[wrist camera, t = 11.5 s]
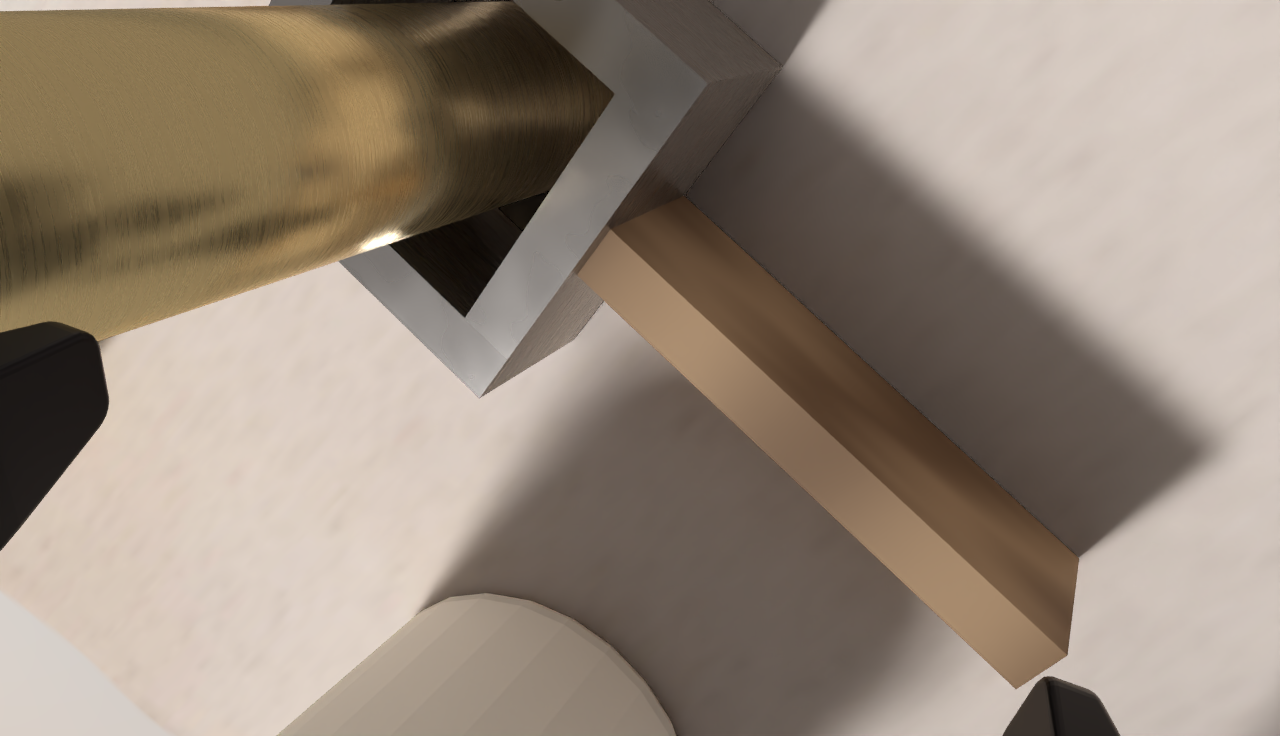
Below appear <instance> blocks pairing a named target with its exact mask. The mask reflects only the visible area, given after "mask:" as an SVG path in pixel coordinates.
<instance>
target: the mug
mask: <svg viewBox="0 0 1280 736" xmlns="http://www.w3.org/2000/svg"><path fill="white" fill-rule="evenodd" d="M277 736H676V733H675V731H674V728H673V725H672V722H671V720H670V719H669V717H668V715H667V714H666V712H665V711H664V709H663V708H662V706H661V705H660V703H659V701H658V700H657V698H656V697H655V695H654V694H653V692H652V690H651V689H650V687H649V686H648V684H647V683H646V681H645V680H644V679H643V678H642V677H641V676H640V675H639V674H638V673H637V672H636V671H635V670H634V669H633V668H632V666H631V665H630V664H629V663H628V662H627V661H626V660H625V659H624V658H623V657H622V656H621V655H620V654H619V653H618V652H617V651H616V650H615V649H614V648H613V647H612V646H611V645H610V644H608V643H607V642H605V641H604V640H603V639H601V638H600V637H598V636H597V635H596V634H594V633H593V632H591V631H590V630H588V629H587V628H586V627H584V626H583V625H581V624H580V623H579V622H577V621H576V620H574V619H573V618H571V617H568V616H566V615H564V614H561V613H559V612H557V611H554V610H552V609H550V608H548V607H545V606H543V605H541V604H538V603H536V602H534V601H530V600H525V599H519V598H513V597H508V596H502V595H496V594H490V593H482V594H473V595H464V596H454V597H449V598H447V599H445V600H443V601H441V602H439V603H437V604H435V605H433V606H431V607H428V608H426V609H424V610H422V611H421V612H420V613H418V614H417V615H416V616H415V617H413V618H412V619H411V620H410V621H409V622H408V623H407V624H405V625H404V626H403V627H402V628H401V629H400V630H398V631H397V632H396V633H395V634H394V635H393V636H391V637H390V638H389V639H388V640H387V641H386V642H384V643H383V644H382V645H381V646H380V647H379V648H377V649H376V650H375V651H374V652H373V653H372V654H371V655H369V656H368V657H367V658H366V659H365V660H364V661H362V662H361V663H360V664H359V665H358V666H357V667H355V668H354V669H353V670H352V671H351V672H350V673H348V674H347V675H346V676H345V677H344V678H343V679H342V680H340V681H339V682H338V683H337V684H336V685H335V686H333V687H332V688H331V689H330V690H329V691H328V692H326V693H325V694H324V695H323V696H322V697H321V698H319V699H318V700H317V701H316V702H315V703H314V704H313V705H311V706H310V707H309V708H308V709H307V710H306V711H304V712H303V713H302V714H301V715H300V716H299V717H297V718H296V719H295V720H294V721H293V722H292V723H290V724H289V725H288V726H287V727H286V728H285V729H284V730H282V731H281V732H280V733H279V734H278V735H277Z"/></svg>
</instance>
